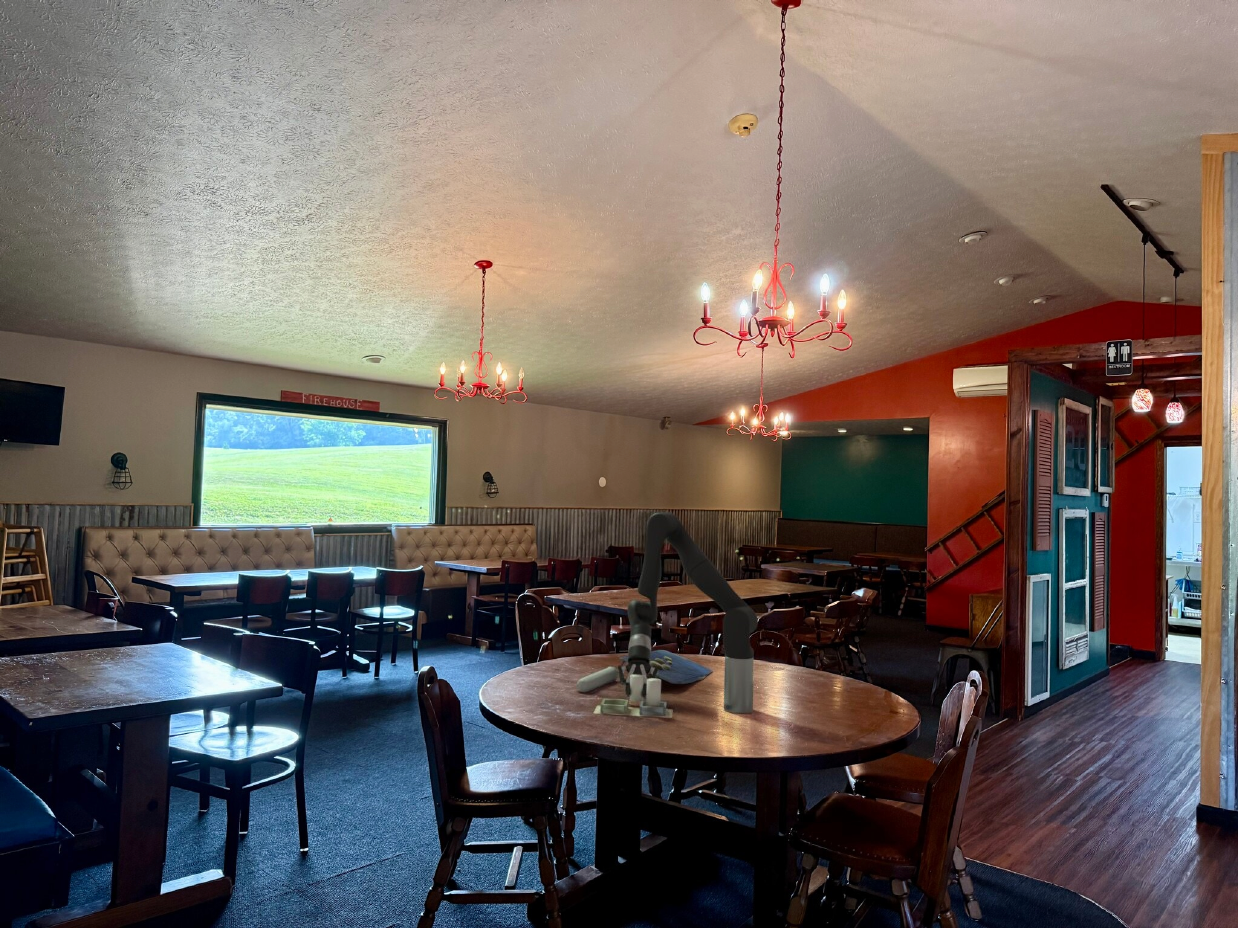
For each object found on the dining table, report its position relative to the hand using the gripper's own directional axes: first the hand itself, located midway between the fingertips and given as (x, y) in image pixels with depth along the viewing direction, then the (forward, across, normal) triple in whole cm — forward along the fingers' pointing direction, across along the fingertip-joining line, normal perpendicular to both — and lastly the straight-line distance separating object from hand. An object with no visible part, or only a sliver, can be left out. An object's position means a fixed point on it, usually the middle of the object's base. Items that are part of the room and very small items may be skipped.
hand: (636, 695), depth 259 cm
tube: (-19, -16, +26) cm, 35 cm away
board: (+9, 0, -2) cm, 9 cm away
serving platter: (-34, +7, +40) cm, 53 cm away
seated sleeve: (+8, +6, -4) cm, 11 cm away
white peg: (+2, 0, +4) cm, 5 cm away
